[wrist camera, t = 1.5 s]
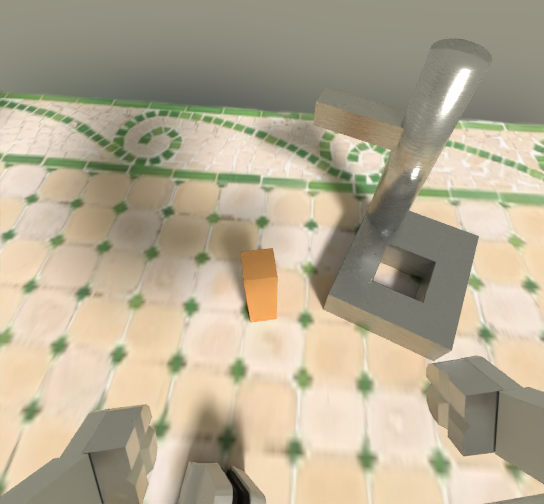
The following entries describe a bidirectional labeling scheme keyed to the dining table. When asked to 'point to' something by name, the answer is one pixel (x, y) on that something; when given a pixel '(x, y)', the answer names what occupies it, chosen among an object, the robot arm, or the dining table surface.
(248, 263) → the orange rectangular block
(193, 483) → the grey rounded block
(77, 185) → the dining table surface
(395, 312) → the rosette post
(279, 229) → the dining table surface
